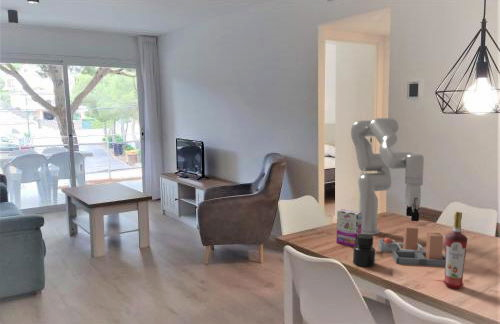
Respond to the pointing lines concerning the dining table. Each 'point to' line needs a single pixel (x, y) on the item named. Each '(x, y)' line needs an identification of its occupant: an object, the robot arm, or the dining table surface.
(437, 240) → the block
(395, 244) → the grey square holder
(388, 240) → the red egg shape
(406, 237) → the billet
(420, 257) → the grey two-slot rack
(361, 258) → the ink bottle
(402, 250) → the light grey square frame
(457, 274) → the liquor
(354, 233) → the candy bar box
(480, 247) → the dining table surface
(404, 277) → the dining table surface
